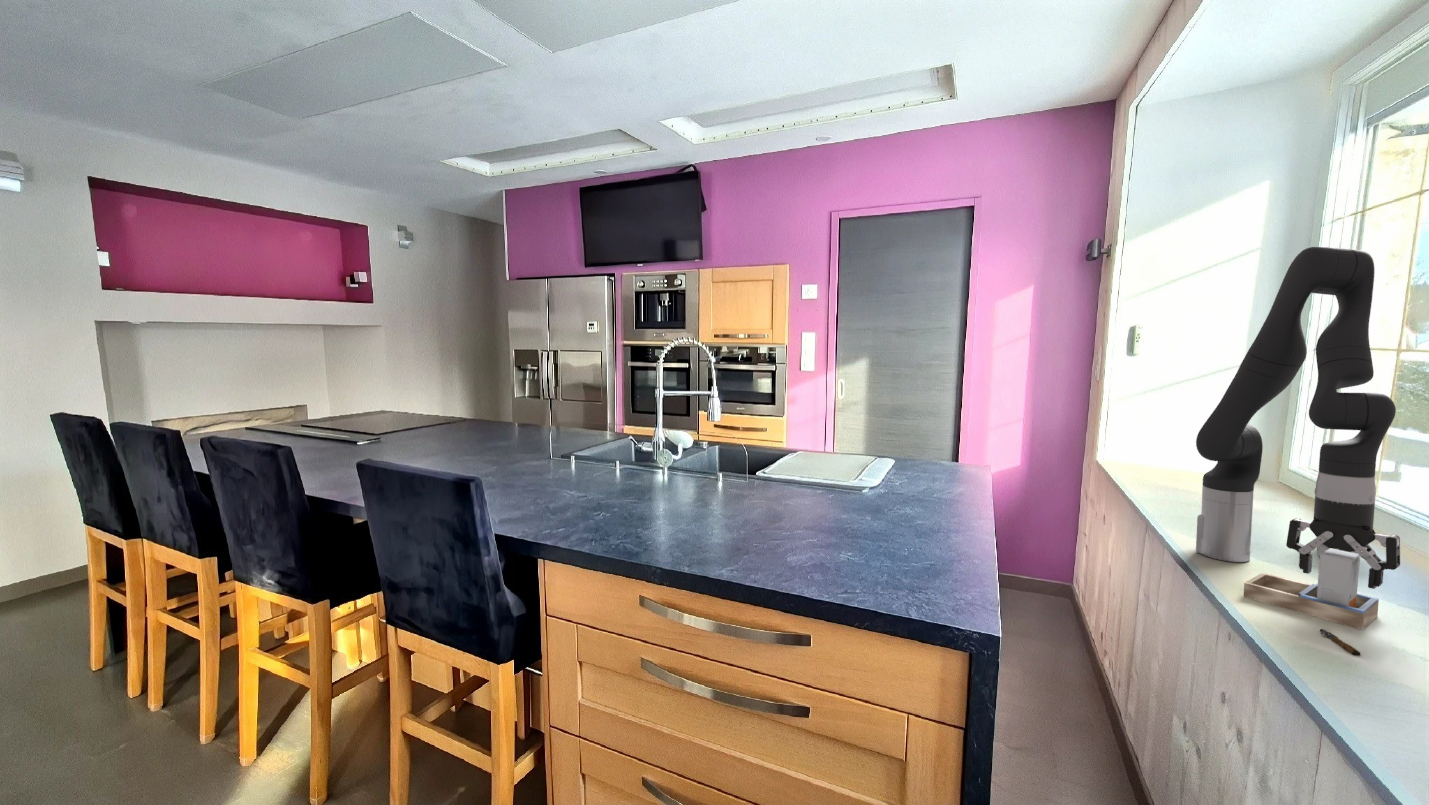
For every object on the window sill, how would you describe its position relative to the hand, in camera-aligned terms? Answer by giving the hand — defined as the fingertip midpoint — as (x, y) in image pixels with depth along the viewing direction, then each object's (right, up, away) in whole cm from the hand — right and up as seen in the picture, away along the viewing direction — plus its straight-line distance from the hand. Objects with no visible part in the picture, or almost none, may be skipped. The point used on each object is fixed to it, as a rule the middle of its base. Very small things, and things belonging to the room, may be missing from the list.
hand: (1338, 579), depth 106 cm
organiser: (-2, -7, +4) cm, 8 cm away
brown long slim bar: (-10, -9, -9) cm, 16 cm away
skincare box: (0, -7, +1) cm, 7 cm away
